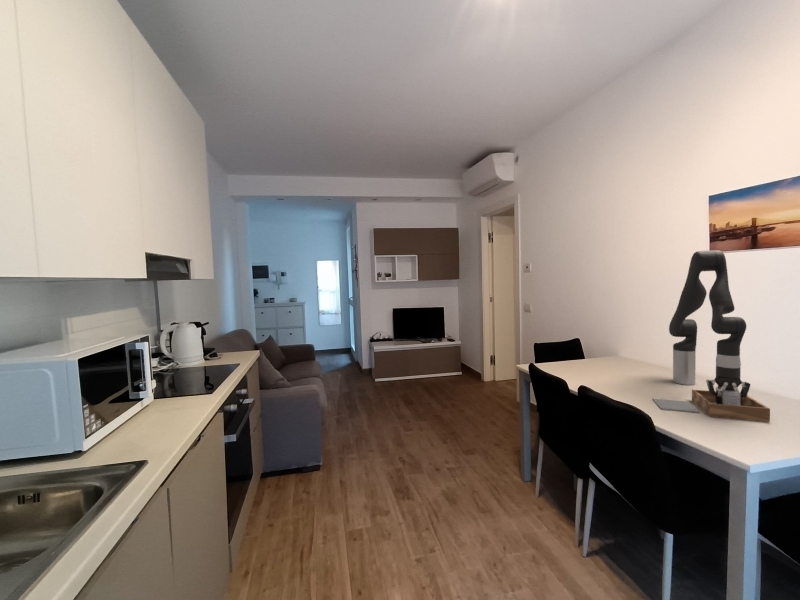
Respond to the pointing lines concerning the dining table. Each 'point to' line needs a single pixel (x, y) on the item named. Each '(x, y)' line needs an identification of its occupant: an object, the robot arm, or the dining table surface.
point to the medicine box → (730, 397)
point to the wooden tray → (731, 407)
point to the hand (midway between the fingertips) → (727, 405)
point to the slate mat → (675, 405)
